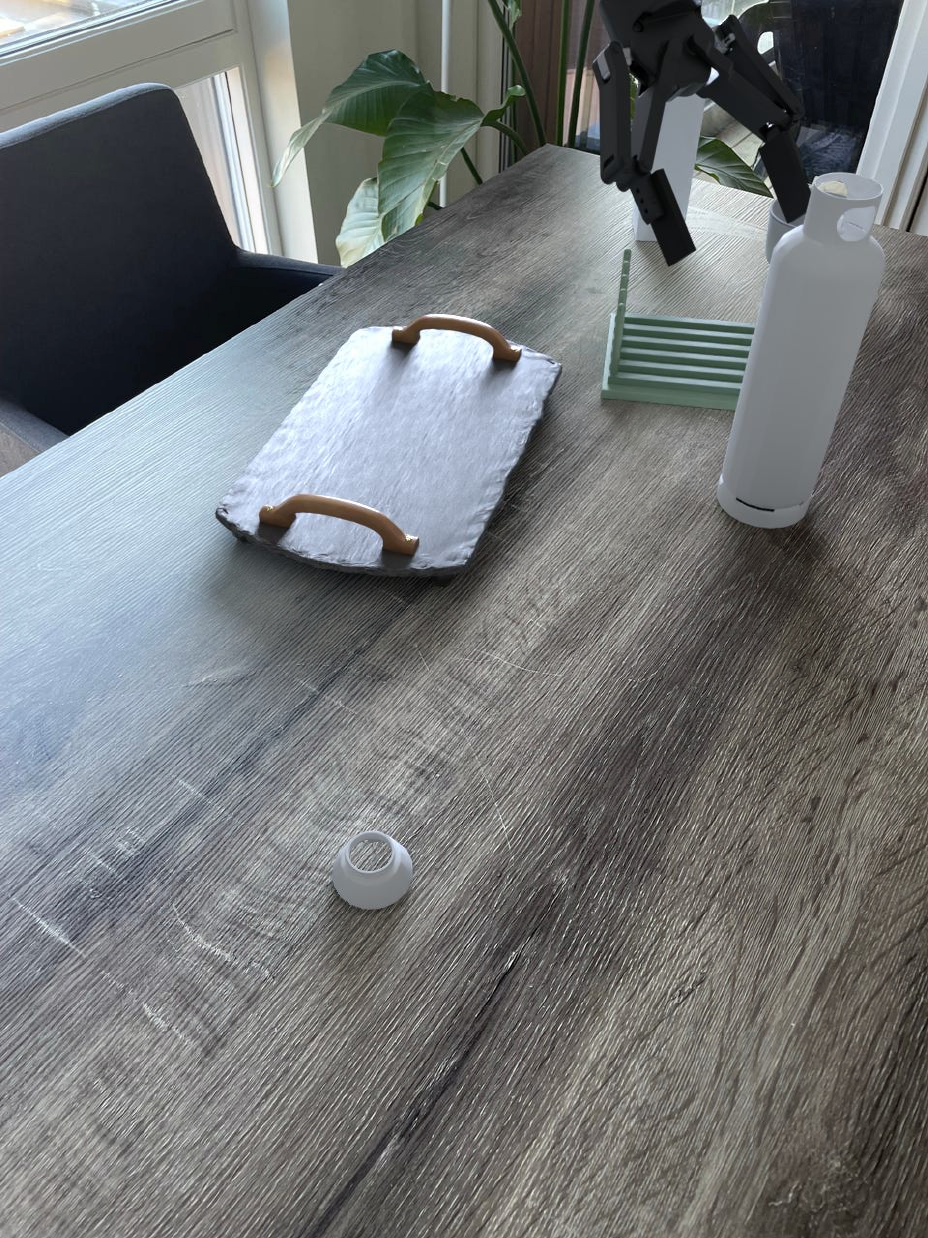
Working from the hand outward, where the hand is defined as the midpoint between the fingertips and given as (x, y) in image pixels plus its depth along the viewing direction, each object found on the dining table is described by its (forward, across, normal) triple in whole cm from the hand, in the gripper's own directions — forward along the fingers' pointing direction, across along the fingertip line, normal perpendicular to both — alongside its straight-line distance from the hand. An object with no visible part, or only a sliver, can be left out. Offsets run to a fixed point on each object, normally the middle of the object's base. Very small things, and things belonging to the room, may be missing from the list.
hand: (744, 236), depth 79 cm
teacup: (+1, -38, -30) cm, 48 cm away
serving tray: (+4, +23, -27) cm, 35 cm away
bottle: (+21, 0, -10) cm, 23 cm away
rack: (+7, -11, -24) cm, 27 cm away
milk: (-12, -30, -42) cm, 53 cm away
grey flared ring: (+29, +49, -1) cm, 57 cm away
